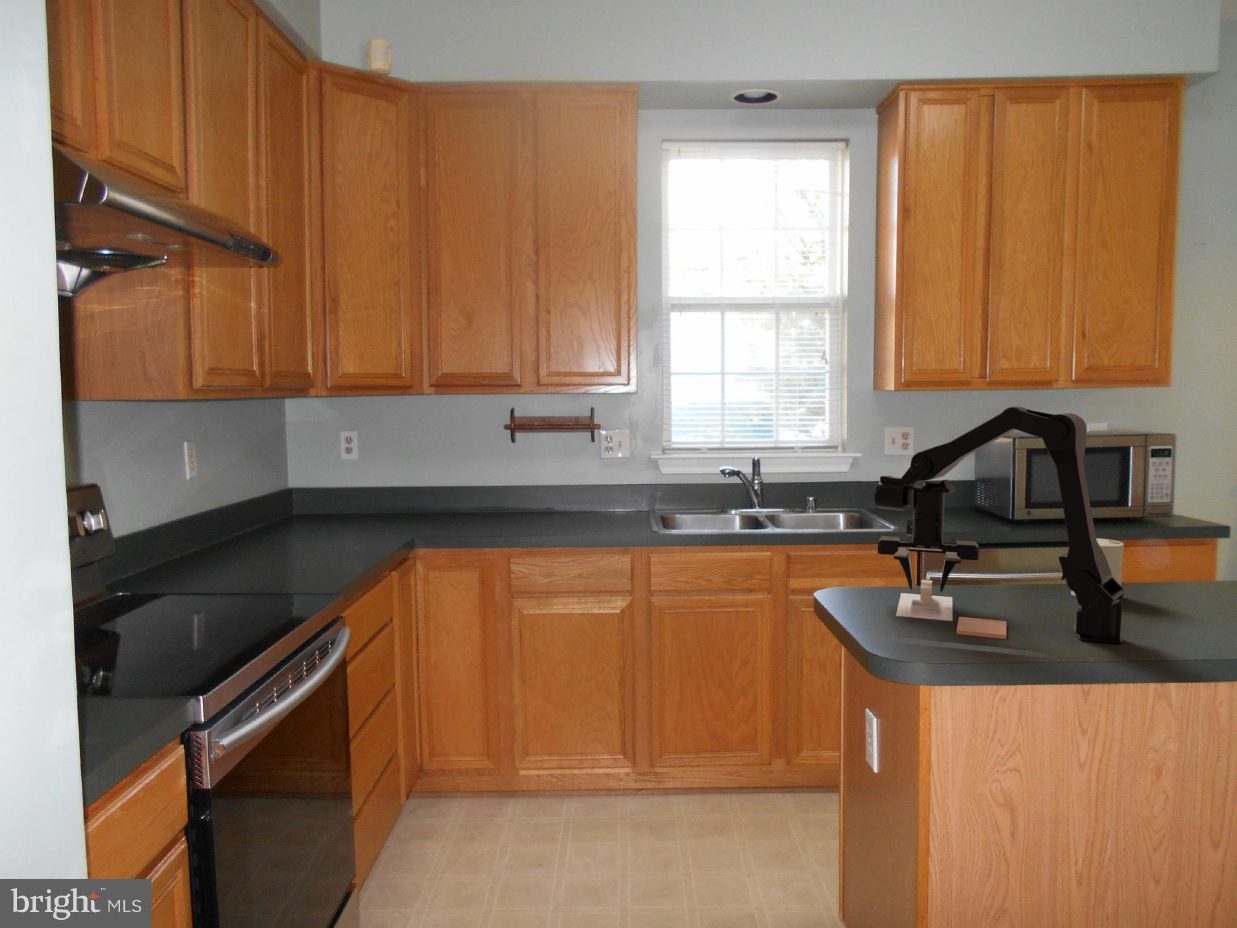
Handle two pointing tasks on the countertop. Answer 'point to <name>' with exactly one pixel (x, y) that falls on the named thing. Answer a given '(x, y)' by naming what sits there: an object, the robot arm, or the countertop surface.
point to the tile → (981, 627)
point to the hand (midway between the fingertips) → (926, 590)
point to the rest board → (944, 613)
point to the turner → (925, 600)
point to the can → (1112, 557)
